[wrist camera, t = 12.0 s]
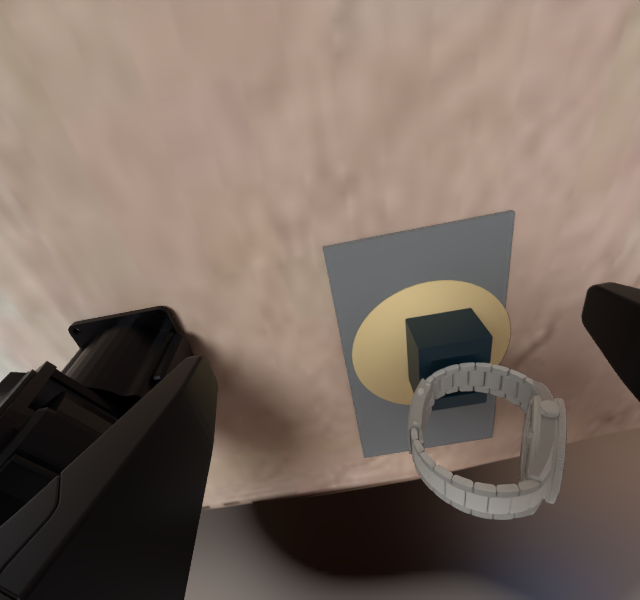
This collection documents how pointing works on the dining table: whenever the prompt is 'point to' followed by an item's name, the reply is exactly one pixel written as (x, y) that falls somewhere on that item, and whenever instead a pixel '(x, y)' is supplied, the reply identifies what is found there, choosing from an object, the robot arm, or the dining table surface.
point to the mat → (413, 301)
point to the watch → (471, 388)
